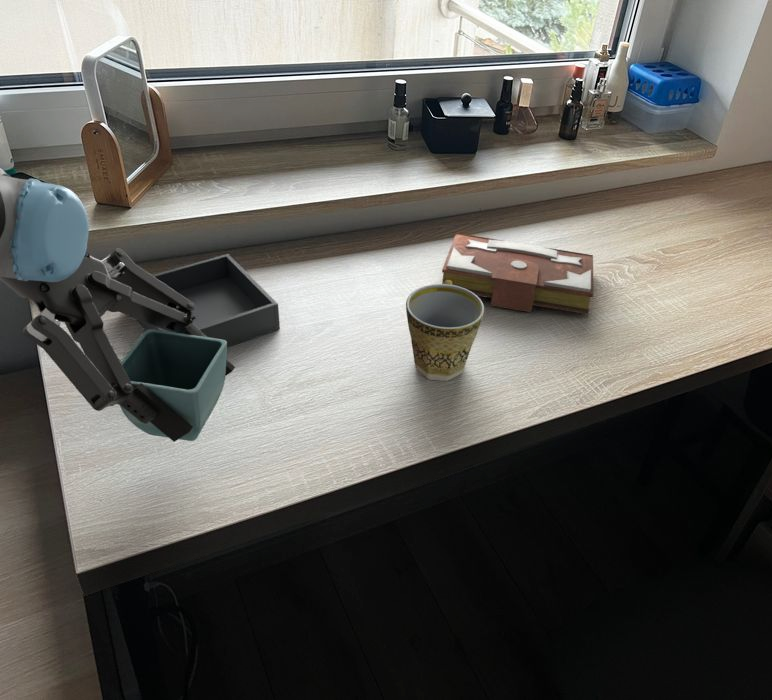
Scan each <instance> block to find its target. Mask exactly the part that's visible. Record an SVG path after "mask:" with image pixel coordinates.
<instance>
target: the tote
mask: <svg viewBox="0 0 772 700" xmlns="http://www.w3.org/2000/svg"><path fill="white" fill-rule="evenodd" d="M151 275H152V276H154V277H155V278H157V279H158V280H160V281H161V282H163V283H164V284H166V285H167V286H169V287H170V288H172V289H173V290H175V291H176V292H178V293H179V294H181V295H182V296H184V297H185V298H187V299H188V300H190V301H191V302H192V303H193V304H194V305H195V309H194V310H193V311H192V312H193V313H194V314H195V316H196V319H195V320H194V321H193V322H192V323H193V324H194V325H195V326H196V327H197V328H198V329H199V330H200V331H201V332H202V333H204V334H205V336H207V337H208V338H216V339H222V340H225V341H227V348H230V347H234V346H236V345H238V344H242V343H244V342H247V341H250V340H252V339H255V338H258V337H261V336H265V335H267V334H269V333H272V332H276V331H278V330H280V329H281V327H280V326H281V324H280V323H281V321H280V310H279V309H280V308H279V303H278V302H277V301H276V300H275V299H274V298H273V297H272V296H271V295H270V294H269V293H268V292H267V291H266V290H265V289H264V288H263V287H262V286H261V285H260V284H259V283H258V282H257V281H256V280H255V279H254V278H253V277H252V276H251V275H250V274H249V273H248V272H247V271H246V270H245V269H244V268H243V267H242V266H241V265H240V264H239V263H238V261H236V260H235V259H234V258H233V257H232V256H231V255H230V254H229V253H225V254H222V255H218V256H214V257H211V258H207V259H204V260H200V261H197V262H192V263H190V264H185V265H184V266H179V267H175V268H172V269H168V270H165V271H161V272H158V273H153V274H151ZM177 307H178V308H179V306H177ZM136 320H137V322H138V323H139V324H140V325H141V327H142V328H143V329H144V332H145V331H146V330H149V329H153V330H162V331H166V330H163V329H161V328H158V327H156V326H153V325H151V324H148V323H146V322H143V321H141V320H138V319H136ZM167 332H168V331H167Z"/></svg>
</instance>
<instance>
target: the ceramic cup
mask: <svg viewBox="0 0 772 700" xmlns="http://www.w3.org/2000/svg"><path fill="white" fill-rule="evenodd" d="M405 310H406V312H405V313H406V318H407V326H408V331H409V335H410V340H411V347H412V354H413V361H414V368H415V369H416V370H417V371H418V372H419V373H420V374H422V375H423V376H424V377H425V378H426V379H428V380H430V381H440V382H448V381H450V380H452V379H454V378H456V377H458V376H460V375H461V374H463V372H464V370H465V367H466V364H467V361H468V358H469V355H470V353H471V349H472V347H473V343H474V341H475V339H476V337H477V335H478V332H479V329H480V327H481V323H482V321H483V318H484V313H485V306H484V303H483V301H482V299H481V298H480V296H476V295H475V294H474V293H472V292H471V291H469V290H467V289H464V288H462V287H459V286H455V285H452V281H451V280H445V282H444V284H442V283H436V284H428V285H424V286H421V287H419V288H417V289H415V290H414V291H412V292H411V293H410V294H409V295H408V297H407V298H406V302H405Z"/></svg>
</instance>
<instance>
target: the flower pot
mask: <svg viewBox="0 0 772 700" xmlns="http://www.w3.org/2000/svg"><path fill="white" fill-rule="evenodd" d="M227 351H228V347H227V341H225V340H222V339H216V338H208V337H201V336H195V335H188V334H181V333H175V332H167V331H162V330H153V329H149V330H146V331H145V330H144V332H143V333H142V334H141V335H140V337H139V338H138V340H136V342H135V343H134V345H133V346H132V347H131V349H130V350H129V351H128V352H127V354H126V355H125V356H124V358H123V359H122V360H120V362H121V364H122V366H123V368H124V370H125V372H126V374H127V376H128V377H129V379H130V381H131V383H132V385H133V388H135V387H137V386H138V385H139V384H141V383H142V384H143V385H144V386H146V387H147V388H148V389H149V390H150V391H152V392H153V393H154V394H155V395H156V396H157V397H159V398H160V399H161V400H162V401H163V402H165V403H166V404H167V405H168V406H169V407H170V408H172V409H173V410H174V411H175V412H176V413H177V414H179V415H180V416H181V417H182V418H183V419H185V420H186V421H187V422H188V423H189V424H190V425H192V426H193V428H192V429H191V431H190V432H189V433H187V434H186V435H184V436H183V437H181V438H180V439H179V440H181V441H187V442H193V441H196V440H197V439H198V437H199V436H200V434H201V432H202V430H203V428H204V426H205V425H206V423H207V421H208V419H209V418H210V416H211V414H212V412H213V411H214V409H215V407H216V405H217V403H218V401H219V399H220V398H221V395H222V392H223V389H224V385H225V382H226V376H227V375H226V359H227V353H228V352H227ZM225 375H226V376H225ZM119 407H120V409H121V411H122V413H123V415H124V416H125V417H126V419H128V421H129V422H130V423H131V424H133V426H134V427H136V428H137V429H139V430H140V431H142V432H144V433H146V434H147V435H150V436H154V437H161V438H168V439H170V438H169V437H167V436H166V435H165V434H164V433H163V432H161V431H160V430H159V429H158V428H157V427H155V426H154V425H153V424H152V423H151V422H148V423H147V424H145V423H142V422H140V421H139V420H138V419H137V418H135V417H134V416H133V415H132V414H131V413H129V412H128V411H127V410H126V409H125V408H123V407H122V406H121V405H119Z"/></svg>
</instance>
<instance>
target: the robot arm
mask: <svg viewBox="0 0 772 700" xmlns="http://www.w3.org/2000/svg"><path fill="white" fill-rule="evenodd" d="M89 235H90V226H89V218H88V215H87V211H86V208H85V206H84V204H83V202H82V200H81V198H79V197H78V195H77V194H76V193H75V192H74V191H73V190H71V189H69V188H68V187H66V186H63V185H59V184H54V183H49V182H43V181H41V180H39V179H37V178H29V179H24V178H19V177H18V178H17V177H12V176H11V175H10V174H8V173H7V172H6V171H5V170H3V169H2V168H1V167H0V281H1V282H3V283H4V284H5V285H6V286H7V287H8V288H10V289H11V290H12V291H13V292H14V293H16V295H18V296H19V297H20V298H22V299H25V300H30V301H32V302H33V303H34V304H35V305H36V307H37V309H38V311H39V314H38V315H36V316H35V317H34V318H33V319H32V320H31V321H30V322H29V323H28V324H27V325H26V326H25V327H24V328H23V329H22V335H23V336H24V337H25V338H26V339H28V340H29V341H31V342H32V343H34V344H35V345H36V346H38V347H40V348H41V349H43V351H44V352H45V353H46V354H47V355H48V357H49V358H50V359H51V360H52V361H53V362H54V364H55V365H56V366H57V367H58V368H59V370H60V371H61V372H62V373H63V374H64V376H66V378H67V379H68V380H69V381H70V383H71V384H72V385H73V386H74V387H75V389H76V390H77V391H78V392H79V393H80V395H81V396H82V397H83V398H84V399H85V400H86V402H87V403H88V404H89V405H90V407H91V408H92V409H93V410H94V411H97V412H101V411H103V410H104V409H106V408H108V407H114V406H116V405H118V406H120V405H121V406H122V407H123V408H125V409H126V410H127V411H128V412H129V413H131V414H132V415H133V416H134V417H135V418H137V419H138V420H139V421H140V422H142V423H145V424H147V423H148V422H151V423H152V424H153V425H154V426H155V427H157V428H158V429H159V430H160V431H161V432H163V433H164V434H165V435H166V436H167V437H166V438H168V437H169V438H168V439H170V440H171V441H172V442H173V443H175V442H176V441H178V440H180V438H181V437H183V436H184V435H186V434H187V433H189V432H190V431H191V429H192V428H193V426H192V425H190V424H189V423H188V422H187V421H186V420H185V419H183V418H182V417H181V416H180V415H179V414H177V413H176V412H175V411H174V410H173V409H172V408H170V407H169V406H168V405H167V404H166V403H165V402H163V401H162V400H161V399H160V398H159V397H157V396H156V395H155V394H154V393H153V392H152V391H150V390H149V389H148V388H147V387H146V386H144V385H143V384H142V383H141V384H139V385H138V386H137V387H135V388H133V385H132V383H131V381H130V379H129V377H128V376H127V374H126V372H125V370H124V368H123V366H122V364H121V360H120V358H119V357H118V355H117V353H116V351H115V349H114V347H113V345H112V343H111V341H110V340H109V338H108V336H107V333H106V332H105V330H104V325H105V324H104V321H103V319H102V317H103V316H104V315H105V313H107V311H108V312H110V313H121V314H123V315H126V316H128V317H131V318H133V319H136V320H137V319H138V320H141V321H143V322H146V323H148V324H151V325H153V326H156V327H158V328H161V329H163V330H166V331H168V332H175V333H181V334H188V335H195V336H201V337H207V336H205V334H204V333H202V332H201V331H200V330H199V329H198V328H197V327H196V326H195V325H194V324H193V323H192V322H193V321H194V320H195V319H196V316H195V314H194V313H193V312H192V311H193V310H194V309H195V305H194V304H193V303H192V302H191V301H190V300H188V299H187V298H185V297H184V296H182V295H181V294H179V293H178V292H176V291H175V290H173V289H172V288H170V287H169V286H167V285H166V284H164V283H163V282H161V281H160V280H158V279H157V278H155V277H154V276H152V275H153V274H151V273H149V272H148V271H147V270H145V269H143V268H142V267H141V266H139V265H137V264H136V263H135V262H134V260H132V259H131V258H130V256H128V254H127V253H126V252H125V251H124V250H123V249H122V248H119V247H118V248H115V249H114V250H113V251H112V252H111V253H109V254H108V255H107V256H106V257H105V258H103V259H101V260H100V259H99V258H96V257H94V256H92V255H90V254H89V253H88V252H87V249H88V246H87V245H88V240H89ZM177 306H179V308H178V307H177ZM138 320H137V321H138ZM61 323H63V324H64V325H66V326H65V327H66V329H67V330H68V332H69V333H68V332H67V331H66V330H65V329H64V328H63V327H61V326H60V325H61ZM77 343H78V344H79V345H78V344H77ZM80 347H81V348H80ZM235 368H236V366H235V365H234V364H232V363H231V362H230V360H228V359H227V358H226V375H225V377H227V376H228V375H229V374H231V373H233V371H234V370H235Z"/></svg>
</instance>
